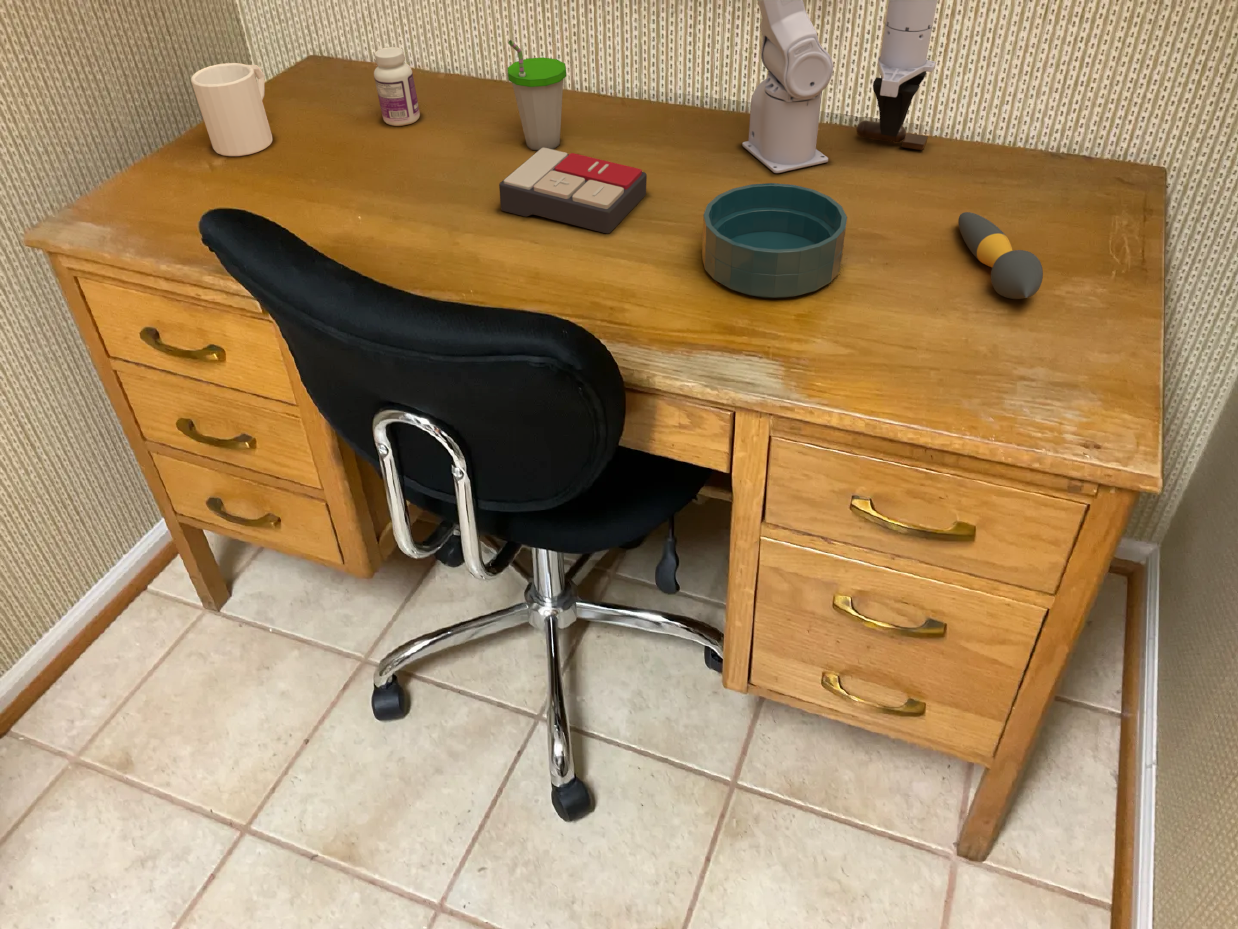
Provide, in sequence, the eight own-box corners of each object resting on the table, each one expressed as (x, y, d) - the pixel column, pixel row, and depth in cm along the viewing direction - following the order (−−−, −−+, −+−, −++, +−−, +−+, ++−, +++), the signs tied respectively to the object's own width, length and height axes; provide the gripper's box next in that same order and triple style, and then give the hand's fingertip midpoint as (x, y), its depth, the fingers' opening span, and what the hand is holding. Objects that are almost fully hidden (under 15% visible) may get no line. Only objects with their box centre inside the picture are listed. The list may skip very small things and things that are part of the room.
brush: (852, 139, 131) (855, 123, 129) (858, 131, 133) (860, 115, 131) (922, 150, 128) (925, 134, 126) (927, 141, 130) (930, 125, 128)
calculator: (609, 206, 112) (496, 177, 117) (609, 239, 115) (499, 210, 120) (648, 166, 119) (541, 141, 124) (647, 198, 122) (542, 172, 127)
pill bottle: (402, 108, 144) (389, 41, 138) (427, 116, 142) (416, 48, 135) (375, 121, 141) (361, 53, 134) (401, 129, 139) (388, 61, 132)
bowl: (680, 247, 112) (681, 199, 108) (796, 220, 116) (801, 172, 112) (741, 315, 101) (744, 264, 97) (866, 282, 105) (874, 232, 101)
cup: (562, 128, 137) (554, 17, 127) (578, 150, 132) (571, 36, 122) (509, 137, 136) (496, 25, 125) (522, 160, 130) (510, 45, 120)
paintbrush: (929, 228, 113) (938, 188, 110) (970, 223, 114) (979, 184, 111) (1009, 322, 99) (1021, 280, 96) (1054, 316, 100) (1068, 274, 96)
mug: (299, 124, 141) (281, 55, 134) (250, 159, 133) (229, 87, 126) (252, 118, 143) (232, 50, 136) (201, 152, 135) (178, 81, 128)
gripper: (930, 47, 114) (910, 157, 123) (952, 8, 124) (932, 113, 133) (870, 40, 116) (855, 149, 125) (896, 3, 126) (880, 106, 135)
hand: (891, 130), depth 129 cm, fingers closed on brush, 2 cm apart
